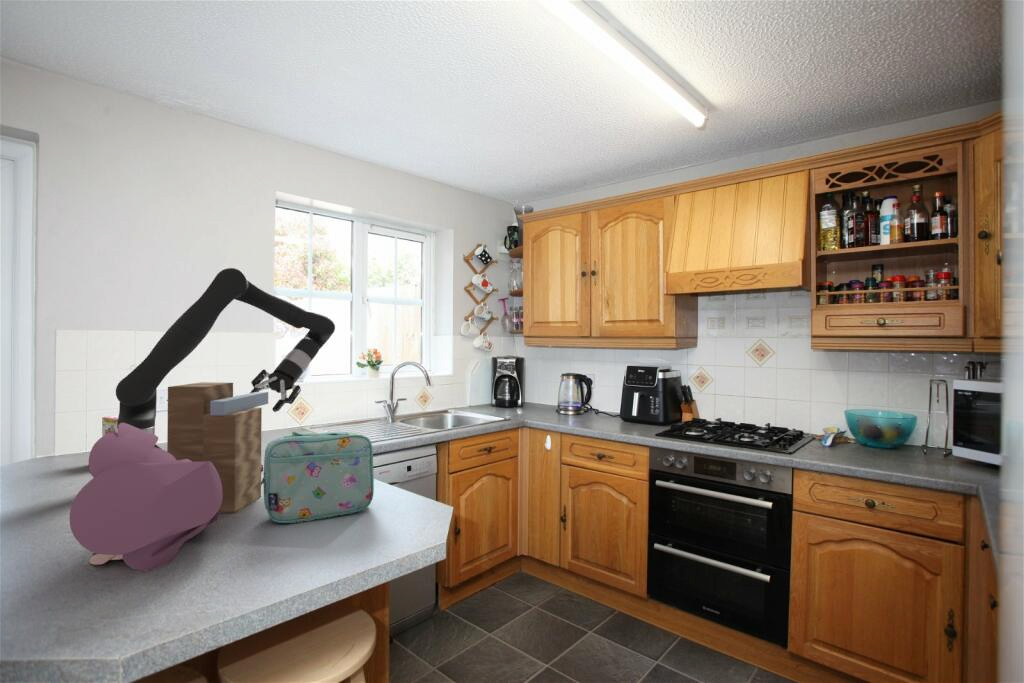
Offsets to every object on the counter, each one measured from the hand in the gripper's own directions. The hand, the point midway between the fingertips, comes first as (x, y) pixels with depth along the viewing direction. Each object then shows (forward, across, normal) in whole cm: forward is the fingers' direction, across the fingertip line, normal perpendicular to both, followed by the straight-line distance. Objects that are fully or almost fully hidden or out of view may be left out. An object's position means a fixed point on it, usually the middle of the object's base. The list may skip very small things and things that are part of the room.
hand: (261, 405), depth 158 cm
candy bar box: (+28, -48, +41) cm, 69 cm away
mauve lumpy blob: (+47, +16, -30) cm, 57 cm away
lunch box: (+24, +38, -17) cm, 49 cm away
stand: (+31, +10, -5) cm, 33 cm away
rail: (+8, +4, -17) cm, 19 cm away
